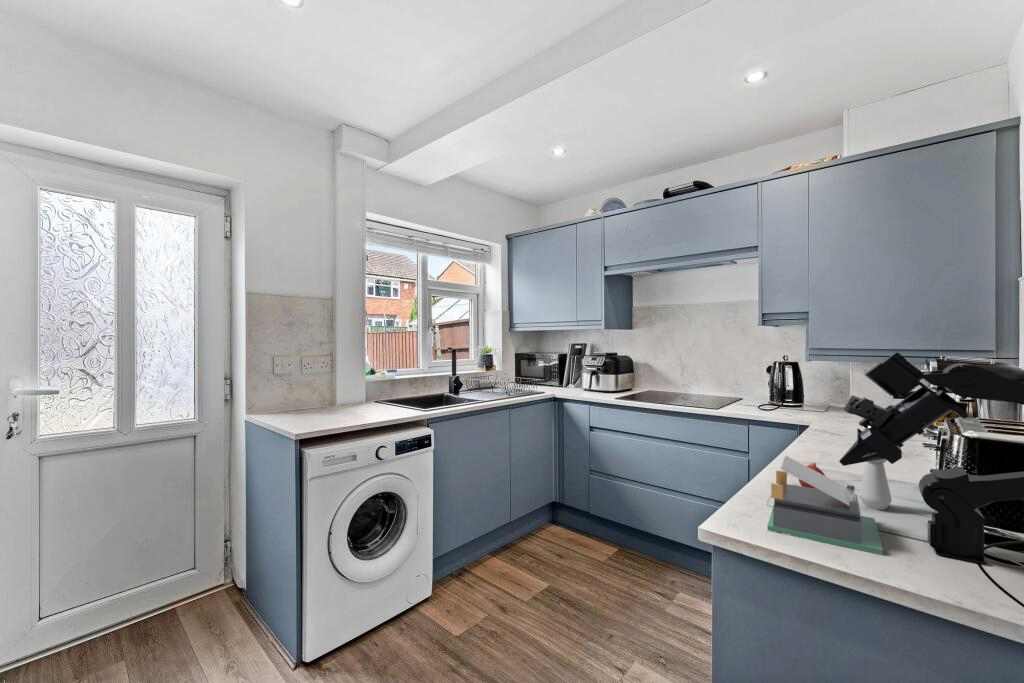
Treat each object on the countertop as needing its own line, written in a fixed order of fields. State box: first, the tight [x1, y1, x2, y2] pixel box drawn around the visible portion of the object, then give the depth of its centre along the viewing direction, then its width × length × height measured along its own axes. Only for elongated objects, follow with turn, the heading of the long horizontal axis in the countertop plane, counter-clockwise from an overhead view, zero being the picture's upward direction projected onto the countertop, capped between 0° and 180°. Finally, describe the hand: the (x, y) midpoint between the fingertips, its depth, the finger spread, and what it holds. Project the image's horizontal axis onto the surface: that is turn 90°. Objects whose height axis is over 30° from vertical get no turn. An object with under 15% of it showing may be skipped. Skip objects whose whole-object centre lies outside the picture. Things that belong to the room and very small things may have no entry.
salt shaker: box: [858, 459, 893, 511], centre depth 101 cm, size 6×6×13 cm
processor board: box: [767, 508, 884, 556], centre depth 91 cm, size 18×17×1 cm
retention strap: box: [780, 455, 856, 506], centre depth 91 cm, size 14×10×1 cm
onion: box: [798, 462, 826, 489], centre depth 110 cm, size 6×6×8 cm
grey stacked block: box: [770, 469, 861, 544], centre depth 92 cm, size 14×16×8 cm
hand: (841, 463), depth 89 cm, fingers closed
